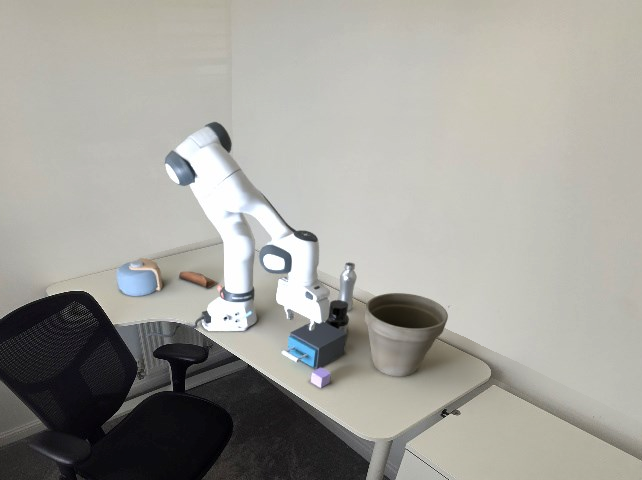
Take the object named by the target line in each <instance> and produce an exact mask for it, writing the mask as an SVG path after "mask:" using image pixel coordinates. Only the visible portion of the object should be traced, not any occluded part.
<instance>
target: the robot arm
mask: <svg viewBox="0 0 642 480" xmlns="http://www.w3.org/2000/svg"><path fill="white" fill-rule="evenodd" d="M232 145H233V143H232V139H231V137H230V135H229V132H228V131H227V129H226V128H225V127H224V125H222V124H221V123H219V122H217V121H212V122H209V123H207V124H205V125H204V127H202V128H200V129H198V130H197V131H194V132H193V133H192V134H190V135H188V136H187V138H186V139H184V140H183V141H182V142H180V144H178V146H176V147H175V148H174V149H173V150H170V152H169V153H168V154H167V155H166V156H165V158H164V167H165V169H166V172H167V174H168V177H169V178H170V179H171V180H172V181H173V182H174V183H176V184H177V185H178V186H181V187H186V186H190V189H191V191H192V192H193V195H194V197H195V199H196V200H197V201H198V204H199V205H200V206H201V208H202V210H203V212H204V214H205V215H206V217H207V218H208V220H209V221H210V222H211V224H212V225H213V226H214V228H215V229H216V230H217V232H218V233H219V235H220V237H221V239H222V242H223V252H224V253H223V254H224V256H223V257H224V258H223V260H224V261H223V263H224V264H223V273H224V274H223V275H224V277H223V278H224V286H223V285H221V284H219V285H217V291H218V292H219V296H217V298H215V299H213V300H212V301H210V303H209V304H208V306H207V309H206V310H205V311H201V317H199V318H197V319H196V320H195V322H194V325H189V324H185V323H178V324H177V325H175V326H174V328H173V331H172V332H171V333H170V334H163V333H159V332H150V333H148V334H147V335H146V336H145V338H147V339H148V338H150V337H151V336H157V337H161V338H171V337H174V336H175V334H176V333H177V330H178V328H181V327H184V328H189V329H196V328H197V327H198V323H199V322H200V321H201V324H202V326H203V328H204V329H205V330H207V331H209V332H216V331H217V332H222V331H223V332H234V331H235V332H241V331H242V332H243V331H247V329H248V328H250V327H252V326H253V325H254V324H256V323H257V320H258V317H257V314H256V309H255V287H254V264H255V253H256V239H255V237H254V233H253V231H252V227H251V225H250V224H249V222H248V220H247V218H246V216H245V215H244V214H247V215H250V216H252V217H253V218H255V219H256V220H257V221H258V222H259V224H260V225H261V226H262V227H263V228H264V229H265V231H266V232H267V233H268V235H270V237H271V240H269V241H268V242H267V243H265V245H264V246H262V247H261V249H260V250H259V253H258V260H259V263H260V266H261V267H262V269H263V270H264V271H266V272H267V273H269V274H273V275H274V274H275V275H286V274H287V275H288V278H287V277H285V276H282V277H280V278H279V279H278V285H277V290H276V302H277V304H279V305H281V306H283V307H284V311H285V313H286V319H288V320H289V321H291V320H294V316H295V314H294V313H293V312H295V313H297V314H299V315H301V316H303V317H304V318H305V317H306V319H309V320H310V322H309V323H310V324H309V323H307V324H308V329H309V330H311V331H312V330H314V328H315V324H316V323H322V322H325V321H326V320H327V319H328V317H329V307H330V300H329V298H328V297H329V296H330V294H331V291H330V289H329V288H328V287H327V286H326V285H324V284H323V283H322V282H321V280H320V279H318V278H319V276H318V267H319V264H320V242H319V238H318V236H317V235H316V234H315V233H314V232H311V231H308V230H304V229H303V230H301V229H300V230H296V229H294V228H293V227H292V226H290V224H288V223H287V221H286V220H285V219H284V218H283V217H282V216H281V214H280V213H279V211H278V210H277V209H276V208H275V206H273V204H272V203H271V202H270V201H269V199H268V197H266V196H265V195H264V194H263V193H262V192H261V191H260V190H259V189H258V188H257V187H256V186H255V185H254V184H253V183H252V181H251V180H250V179H249V178H248V176H247V175H246V174H245V172H244V171H243V169H242V167H241V166H240V165H239V163H237V161H236V159H234V157H233V156H232V155H231V154H230V153H231V151H232ZM311 322H312V323H311Z"/></svg>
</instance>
